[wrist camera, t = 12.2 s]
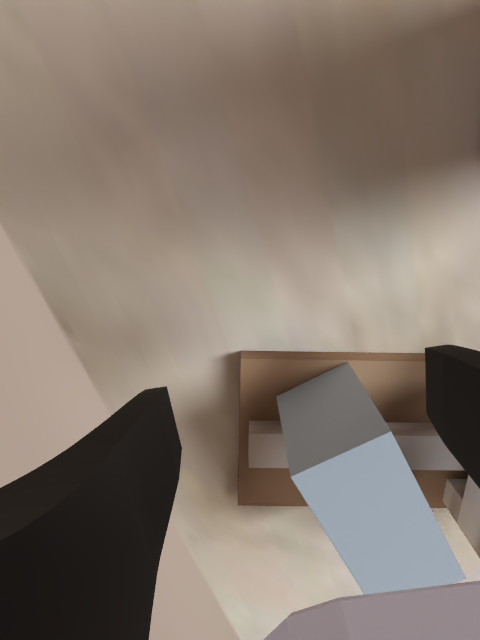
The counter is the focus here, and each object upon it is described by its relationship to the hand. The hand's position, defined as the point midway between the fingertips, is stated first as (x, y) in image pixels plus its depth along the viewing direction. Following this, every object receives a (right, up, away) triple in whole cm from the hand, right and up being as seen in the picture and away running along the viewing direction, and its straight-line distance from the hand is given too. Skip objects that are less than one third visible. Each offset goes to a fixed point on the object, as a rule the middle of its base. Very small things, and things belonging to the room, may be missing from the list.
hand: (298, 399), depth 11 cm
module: (+4, -4, +10) cm, 12 cm away
